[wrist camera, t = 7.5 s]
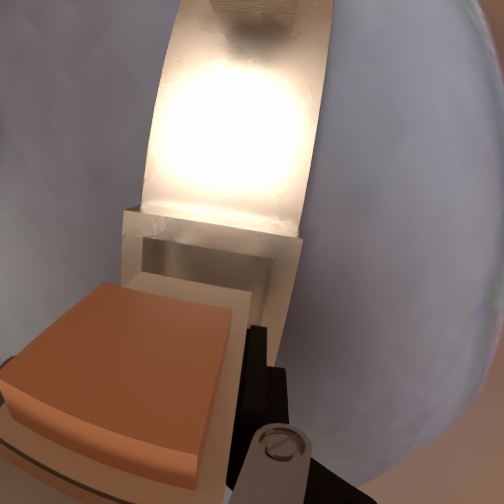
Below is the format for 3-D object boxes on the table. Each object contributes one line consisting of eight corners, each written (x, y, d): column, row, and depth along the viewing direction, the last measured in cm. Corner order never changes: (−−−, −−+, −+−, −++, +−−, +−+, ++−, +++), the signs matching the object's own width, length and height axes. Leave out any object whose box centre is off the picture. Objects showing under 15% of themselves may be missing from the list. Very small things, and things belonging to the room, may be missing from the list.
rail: (267, 347, 18) (266, 490, 8) (148, 324, 18) (70, 441, 8) (332, -33, 11) (371, -141, 2) (209, -46, 11) (172, -152, 2)
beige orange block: (235, 381, 11) (205, 570, 4) (140, 360, 12) (51, 517, 4) (256, 264, 10) (227, 494, 2) (141, 244, 10) (-38, 381, 2)
